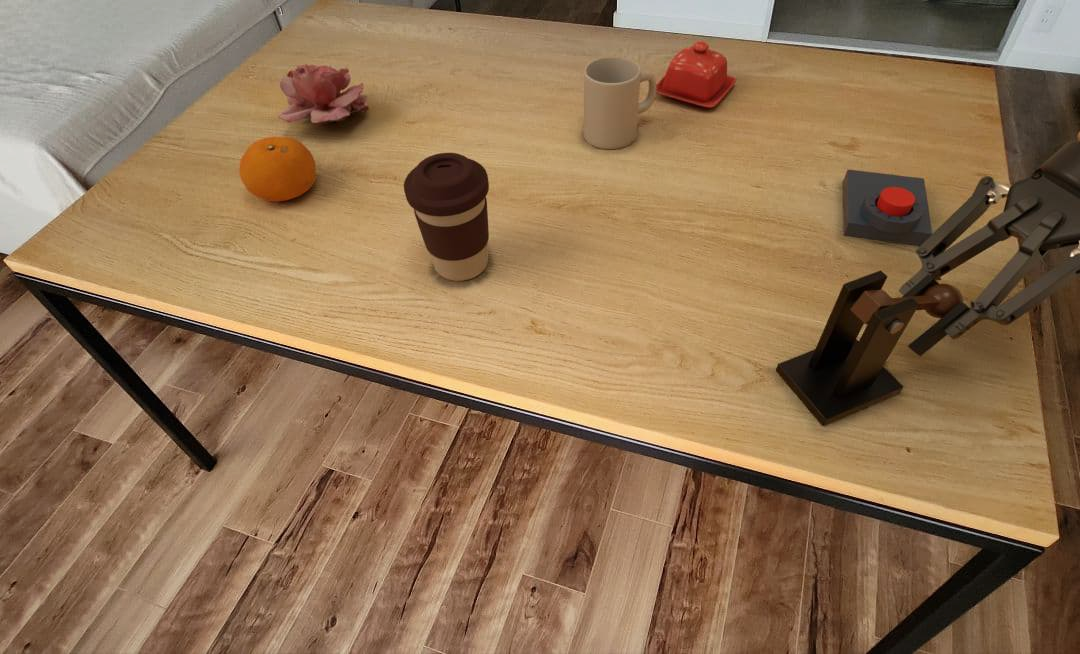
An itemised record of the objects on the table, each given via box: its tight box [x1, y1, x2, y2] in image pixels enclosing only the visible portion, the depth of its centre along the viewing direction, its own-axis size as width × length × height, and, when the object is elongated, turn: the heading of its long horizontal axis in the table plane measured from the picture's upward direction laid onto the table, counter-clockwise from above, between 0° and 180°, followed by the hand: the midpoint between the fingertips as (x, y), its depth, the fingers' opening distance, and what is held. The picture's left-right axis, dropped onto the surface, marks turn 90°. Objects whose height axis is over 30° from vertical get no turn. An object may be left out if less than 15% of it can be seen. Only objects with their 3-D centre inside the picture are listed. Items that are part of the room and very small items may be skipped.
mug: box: [582, 56, 657, 150], centre depth 100 cm, size 12×8×11 cm
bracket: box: [775, 270, 919, 427], centre depth 65 cm, size 10×8×14 cm
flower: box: [278, 63, 370, 124], centre depth 107 cm, size 15×15×10 cm
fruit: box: [238, 136, 317, 202], centre depth 95 cm, size 10×10×8 cm
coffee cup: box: [403, 152, 490, 282], centre depth 80 cm, size 10×10×15 cm
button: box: [877, 187, 915, 217], centre depth 82 cm, size 4×4×2 cm
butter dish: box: [656, 40, 737, 109], centre depth 108 cm, size 12×12×8 cm
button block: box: [842, 168, 933, 247], centre depth 86 cm, size 13×10×4 cm
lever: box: [850, 283, 964, 326], centre depth 64 cm, size 14×4×4 cm, turn 113°
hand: (898, 336), depth 68 cm, fingers closed on lever, 4 cm apart
